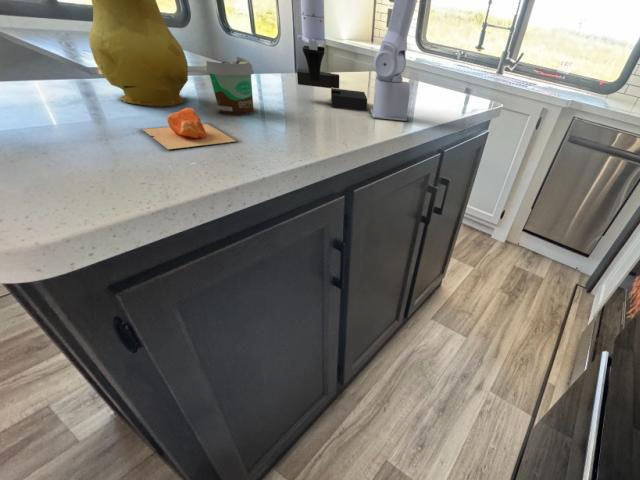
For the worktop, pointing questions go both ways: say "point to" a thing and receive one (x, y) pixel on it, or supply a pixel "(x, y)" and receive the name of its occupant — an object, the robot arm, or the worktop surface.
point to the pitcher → (138, 52)
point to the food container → (232, 86)
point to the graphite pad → (348, 99)
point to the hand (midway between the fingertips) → (314, 79)
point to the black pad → (324, 79)
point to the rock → (187, 131)
